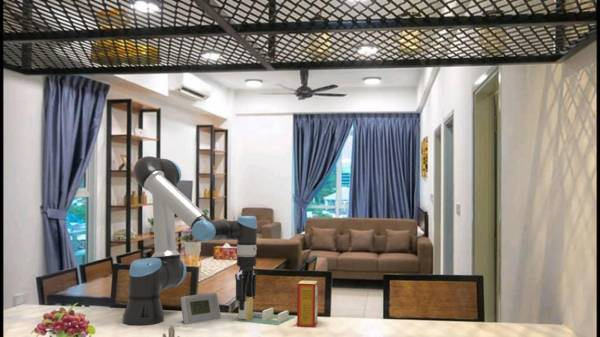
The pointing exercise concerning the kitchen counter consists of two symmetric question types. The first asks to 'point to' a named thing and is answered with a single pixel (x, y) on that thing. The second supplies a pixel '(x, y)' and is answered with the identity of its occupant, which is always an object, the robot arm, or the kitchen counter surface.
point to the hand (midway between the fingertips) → (245, 317)
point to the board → (268, 317)
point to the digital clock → (200, 308)
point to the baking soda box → (307, 303)
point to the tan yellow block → (248, 308)
